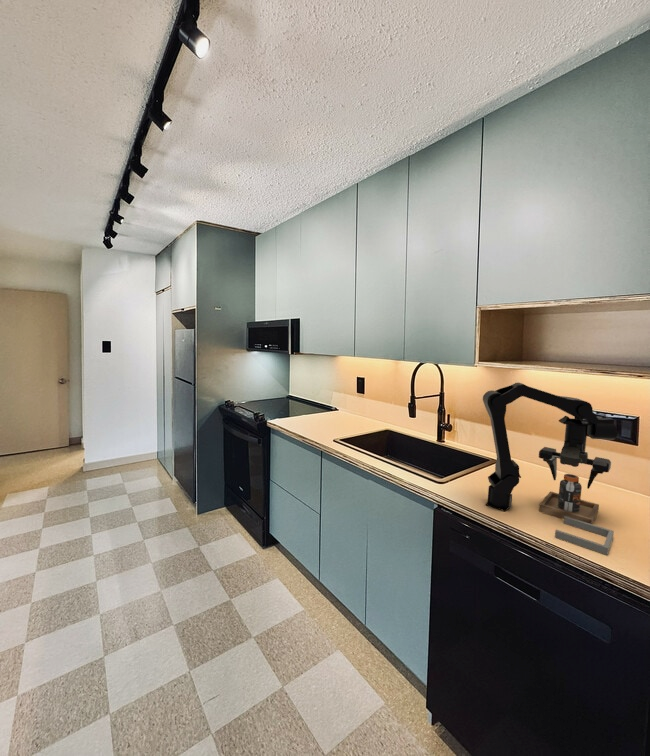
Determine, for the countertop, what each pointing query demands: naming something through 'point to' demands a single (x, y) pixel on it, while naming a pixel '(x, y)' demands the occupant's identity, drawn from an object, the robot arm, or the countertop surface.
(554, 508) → the tray
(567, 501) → the pill bottle
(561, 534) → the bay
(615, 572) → the countertop surface
